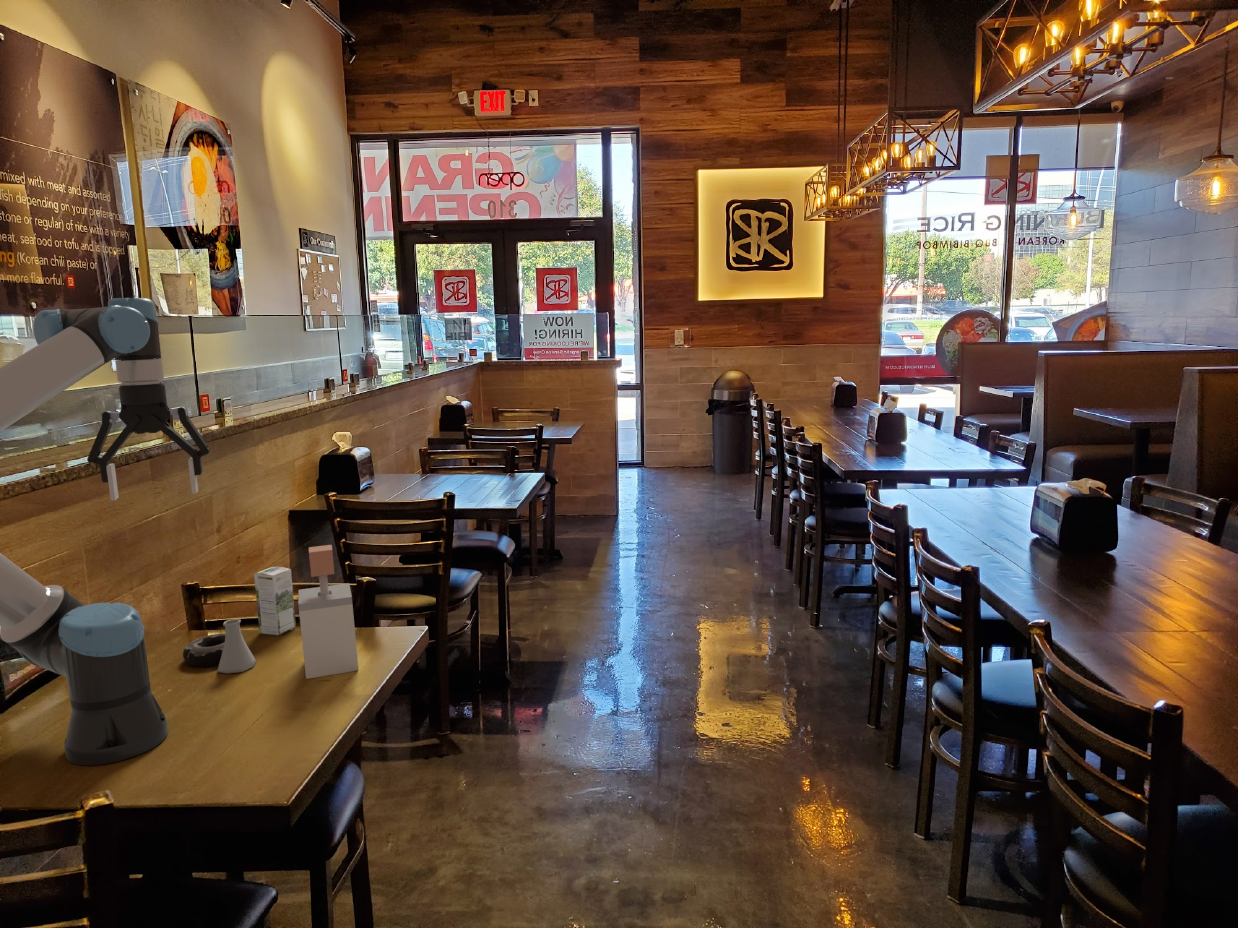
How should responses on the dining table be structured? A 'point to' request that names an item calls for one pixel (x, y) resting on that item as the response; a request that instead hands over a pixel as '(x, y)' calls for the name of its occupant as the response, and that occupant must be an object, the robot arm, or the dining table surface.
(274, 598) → the syrup box
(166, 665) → the dining table surface
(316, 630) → the slotted white box
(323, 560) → the pump plunger
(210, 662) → the donut
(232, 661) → the flask
